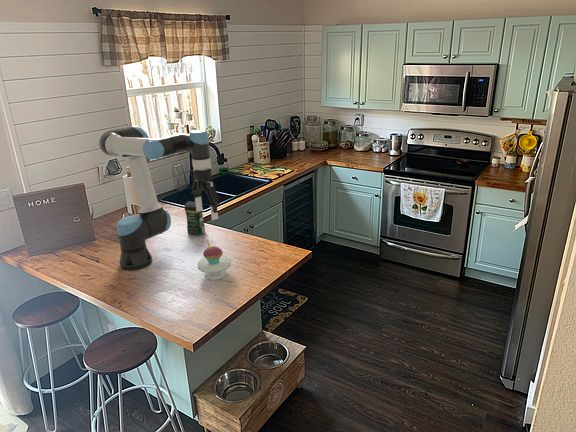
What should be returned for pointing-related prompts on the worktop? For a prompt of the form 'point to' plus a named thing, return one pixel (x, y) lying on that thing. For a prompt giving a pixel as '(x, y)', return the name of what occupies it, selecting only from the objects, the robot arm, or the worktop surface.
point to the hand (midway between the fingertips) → (207, 215)
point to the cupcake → (212, 254)
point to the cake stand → (214, 268)
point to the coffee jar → (194, 219)
